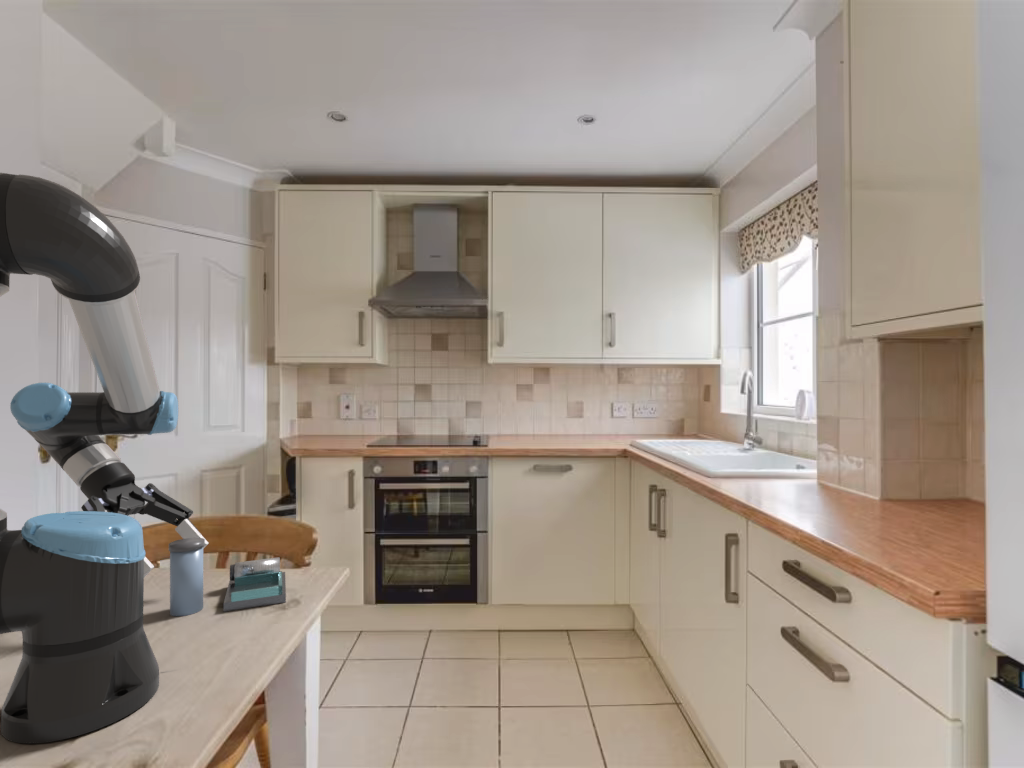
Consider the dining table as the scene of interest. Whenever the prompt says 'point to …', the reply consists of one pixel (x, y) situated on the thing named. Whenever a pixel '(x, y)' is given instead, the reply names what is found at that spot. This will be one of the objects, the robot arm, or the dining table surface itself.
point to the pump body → (186, 576)
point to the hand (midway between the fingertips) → (177, 560)
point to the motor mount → (255, 584)
